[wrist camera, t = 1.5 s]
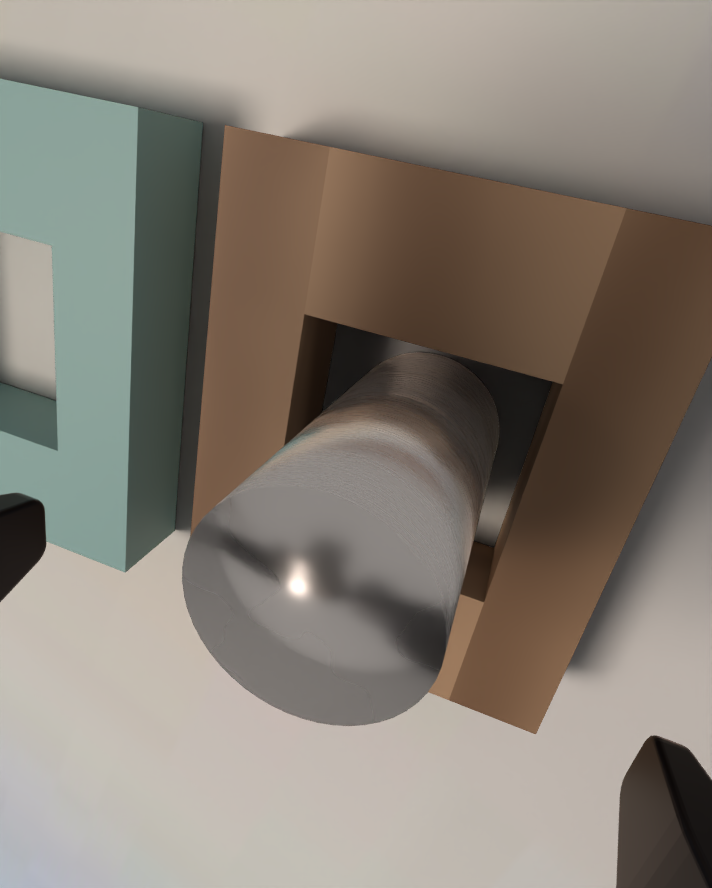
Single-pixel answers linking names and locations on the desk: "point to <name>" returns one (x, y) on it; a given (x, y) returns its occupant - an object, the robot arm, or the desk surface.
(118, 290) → the block
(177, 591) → the desk surface
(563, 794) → the desk surface
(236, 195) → the socket block
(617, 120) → the desk surface
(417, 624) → the steel peg
